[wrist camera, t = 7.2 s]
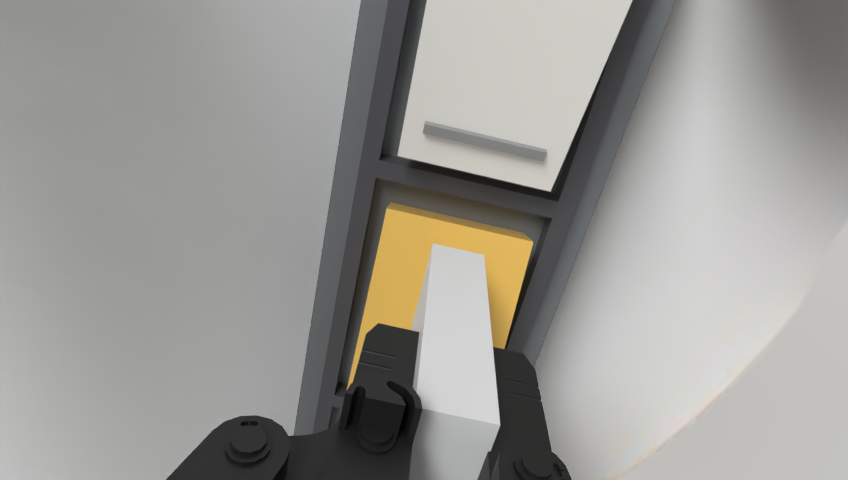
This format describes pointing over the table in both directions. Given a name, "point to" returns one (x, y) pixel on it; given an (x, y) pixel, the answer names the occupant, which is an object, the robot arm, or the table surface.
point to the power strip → (452, 191)
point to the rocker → (506, 83)
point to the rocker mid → (408, 258)
